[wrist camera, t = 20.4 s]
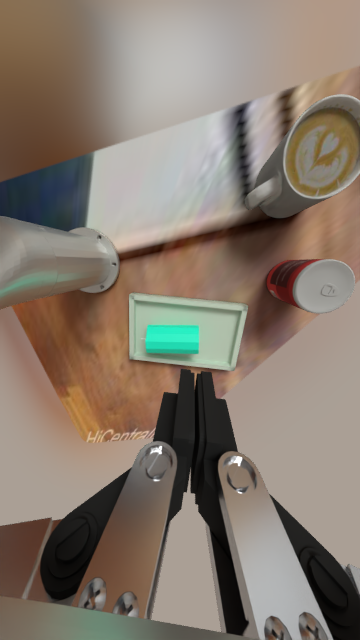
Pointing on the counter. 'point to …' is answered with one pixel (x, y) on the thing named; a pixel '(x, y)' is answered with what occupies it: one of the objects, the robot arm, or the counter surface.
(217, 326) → the tray
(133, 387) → the counter surface
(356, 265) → the counter surface
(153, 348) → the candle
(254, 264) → the counter surface
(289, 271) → the canned food
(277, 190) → the coffee mug
